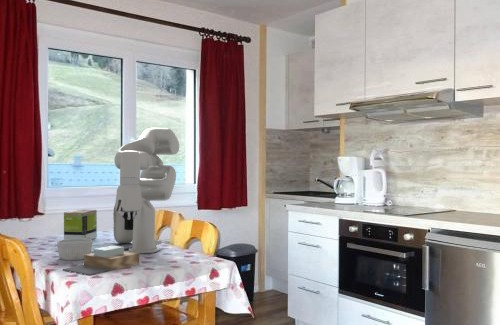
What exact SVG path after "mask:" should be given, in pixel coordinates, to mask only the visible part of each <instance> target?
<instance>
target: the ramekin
mask: <svg viewBox="0 0 500 325" xmlns="http://www.w3.org/2000/svg"><path fill="white" fill-rule="evenodd" d="M93 244H94V241H93V239H65V240H64V239H60V240H58V241H57V244H56V246H57V249H58V250H57V252H58V257H59V258H60V259H61V260H62V261H84V255H86V254H92V246H93Z"/></svg>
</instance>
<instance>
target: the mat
mask: <svg viewBox="0 0 500 325" xmlns="http://www.w3.org/2000/svg"><path fill="white" fill-rule="evenodd" d="M63 270H66V271H65V272H69V271H71V272H70V273H74V272H76V273H75V274H79V273H82V274H81V275H84V274H86V276H94V275H97V274H102V273H107V272H110V271H112V270H111V269H105V268H100V267H94V266H88V265H84V264H81V265H77V266H72V267H71V266H70V267H66V268H62V271H63Z"/></svg>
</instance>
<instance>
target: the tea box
mask: <svg viewBox="0 0 500 325" xmlns="http://www.w3.org/2000/svg"><path fill="white" fill-rule="evenodd" d="M97 213H98V212H97V209H75V210H70V211H65V212H63V240H65V239H91V240H93V239H96V238H98V236H97V235H98V231H97V230H98V223H97V222H98V221H97V219H98V218H97V217H98V216H97V215H98V214H97Z"/></svg>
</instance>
